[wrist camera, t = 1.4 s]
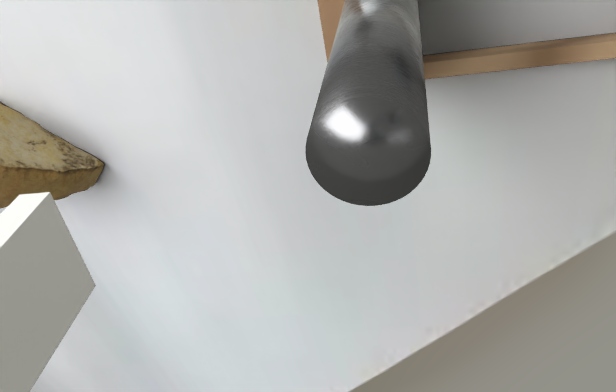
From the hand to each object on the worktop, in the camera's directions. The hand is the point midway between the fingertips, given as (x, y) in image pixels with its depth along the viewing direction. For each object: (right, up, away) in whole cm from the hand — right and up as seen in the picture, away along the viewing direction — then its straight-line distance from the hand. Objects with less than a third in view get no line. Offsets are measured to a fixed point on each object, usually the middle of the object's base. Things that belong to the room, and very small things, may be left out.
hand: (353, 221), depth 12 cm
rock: (-21, +5, +30) cm, 37 cm away
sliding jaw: (+3, +14, +20) cm, 25 cm away
